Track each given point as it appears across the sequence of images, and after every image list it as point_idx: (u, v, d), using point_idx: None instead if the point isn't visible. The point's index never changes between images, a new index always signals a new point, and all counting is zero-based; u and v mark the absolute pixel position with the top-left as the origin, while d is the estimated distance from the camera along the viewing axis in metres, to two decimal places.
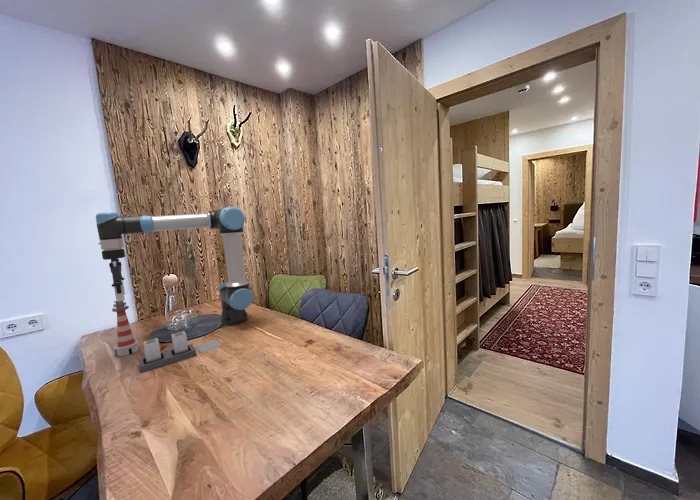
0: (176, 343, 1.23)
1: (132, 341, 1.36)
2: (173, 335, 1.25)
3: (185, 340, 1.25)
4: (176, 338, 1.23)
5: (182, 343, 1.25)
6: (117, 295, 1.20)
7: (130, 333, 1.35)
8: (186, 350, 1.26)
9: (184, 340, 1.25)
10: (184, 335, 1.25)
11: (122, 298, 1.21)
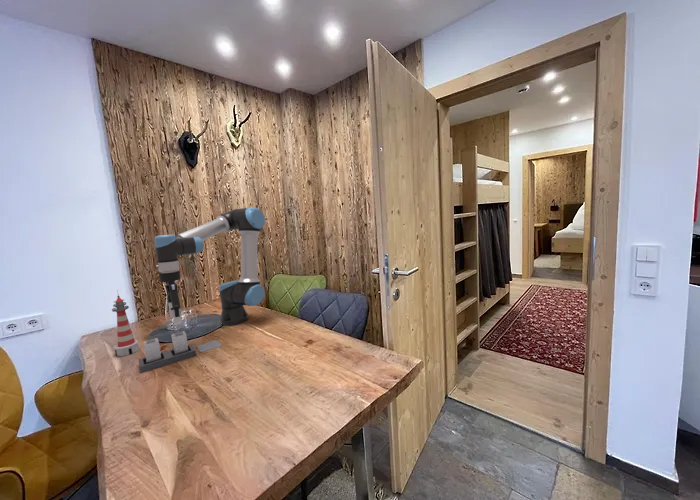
0: (176, 343, 1.23)
1: (132, 341, 1.36)
2: (173, 335, 1.25)
3: (185, 340, 1.25)
4: (176, 338, 1.23)
5: (182, 343, 1.25)
6: (175, 318, 1.18)
7: (130, 333, 1.35)
8: (186, 350, 1.26)
9: (184, 340, 1.25)
10: (184, 335, 1.25)
11: (179, 321, 1.19)
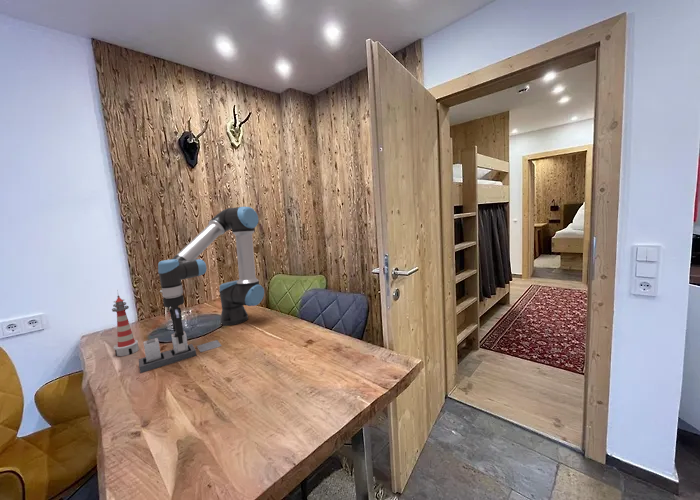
0: (176, 343, 1.23)
1: (132, 341, 1.36)
2: (173, 335, 1.25)
3: (185, 340, 1.25)
4: None
5: None
6: (179, 345, 1.23)
7: (130, 333, 1.35)
8: (186, 350, 1.26)
9: (184, 340, 1.25)
10: (184, 335, 1.25)
11: (183, 347, 1.24)
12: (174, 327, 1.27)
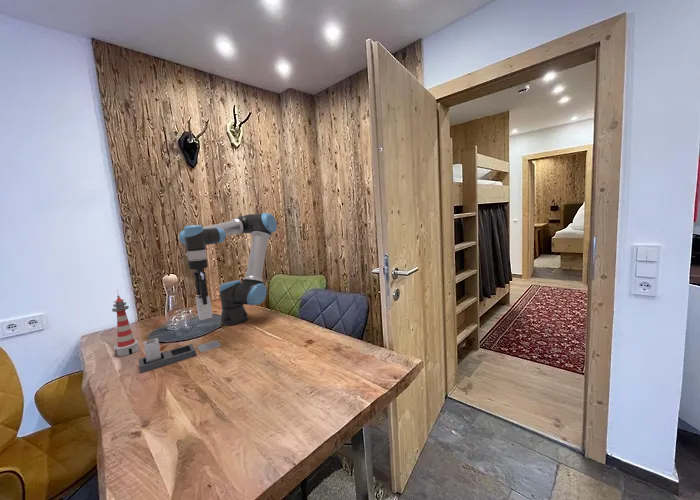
0: (200, 304, 1.30)
1: (132, 341, 1.36)
2: (197, 297, 1.31)
3: (209, 302, 1.32)
4: (200, 299, 1.30)
5: None
6: (203, 306, 1.30)
7: (130, 333, 1.35)
8: (209, 311, 1.33)
9: (208, 301, 1.32)
10: (208, 297, 1.32)
11: (207, 308, 1.31)
12: (198, 290, 1.34)
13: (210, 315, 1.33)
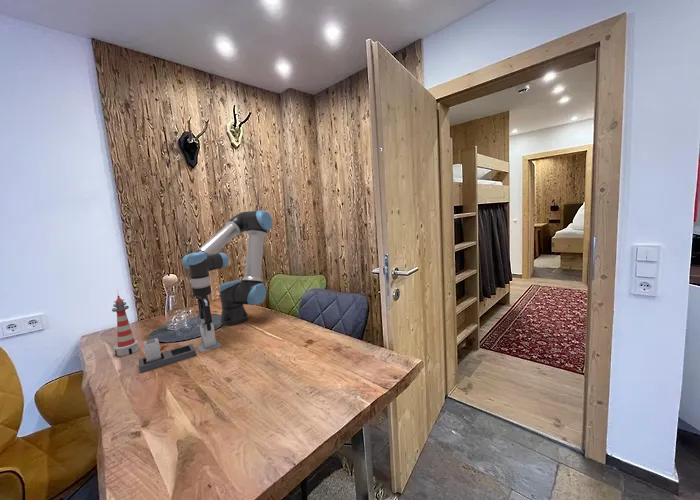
0: (204, 333, 1.32)
1: (132, 341, 1.36)
2: (201, 326, 1.33)
3: (213, 331, 1.34)
4: None
5: None
6: (207, 332, 1.31)
7: (130, 333, 1.35)
8: (213, 340, 1.34)
9: None
10: (212, 326, 1.34)
11: (211, 334, 1.32)
12: (201, 315, 1.36)
13: (214, 343, 1.35)
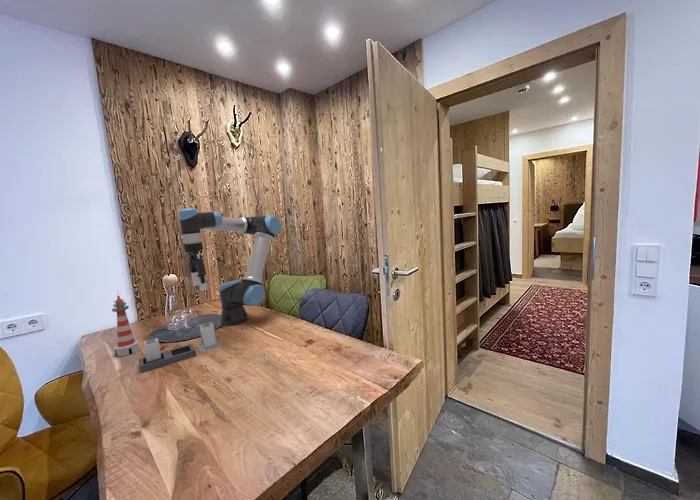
0: (204, 333, 1.32)
1: (132, 341, 1.36)
2: (201, 326, 1.33)
3: (213, 331, 1.34)
4: (205, 329, 1.32)
5: (210, 333, 1.33)
6: (201, 285, 1.29)
7: (130, 333, 1.35)
8: (213, 340, 1.34)
9: (211, 330, 1.34)
10: (212, 326, 1.34)
11: (205, 287, 1.30)
12: (192, 269, 1.38)
13: (214, 343, 1.35)
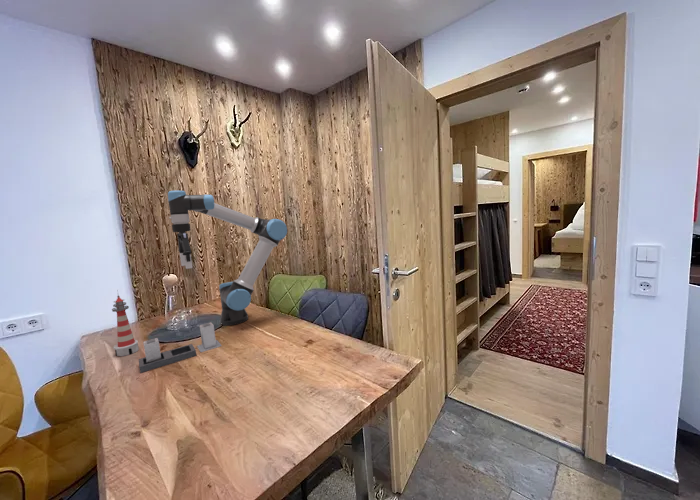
0: (204, 333, 1.32)
1: (132, 341, 1.36)
2: (201, 326, 1.33)
3: (213, 331, 1.34)
4: (205, 329, 1.32)
5: (210, 333, 1.33)
6: (186, 263, 1.36)
7: (130, 333, 1.35)
8: (213, 340, 1.34)
9: (211, 330, 1.34)
10: (212, 326, 1.34)
11: (190, 266, 1.37)
12: (180, 249, 1.46)
13: (214, 343, 1.35)
